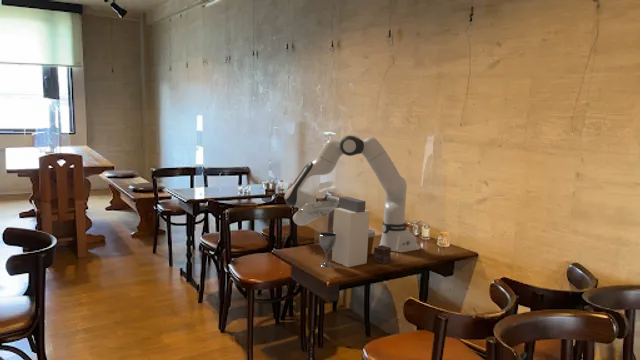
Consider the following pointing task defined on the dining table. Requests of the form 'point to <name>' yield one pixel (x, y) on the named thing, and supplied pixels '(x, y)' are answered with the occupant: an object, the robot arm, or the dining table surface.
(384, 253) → the box
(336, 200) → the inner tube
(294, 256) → the dining table surface
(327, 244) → the wine glass
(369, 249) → the disposable coffee cup
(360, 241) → the stand
